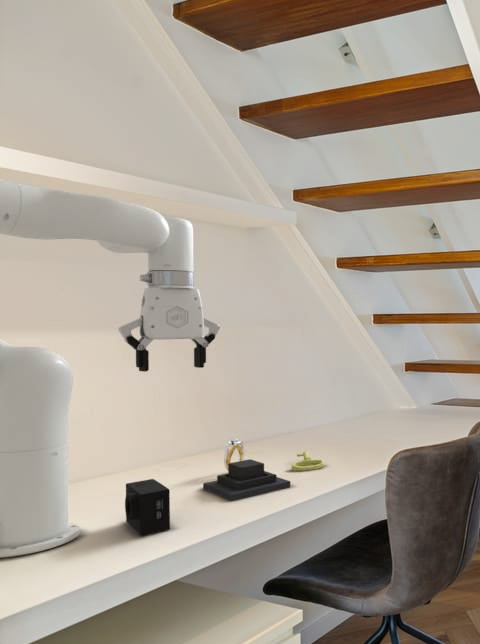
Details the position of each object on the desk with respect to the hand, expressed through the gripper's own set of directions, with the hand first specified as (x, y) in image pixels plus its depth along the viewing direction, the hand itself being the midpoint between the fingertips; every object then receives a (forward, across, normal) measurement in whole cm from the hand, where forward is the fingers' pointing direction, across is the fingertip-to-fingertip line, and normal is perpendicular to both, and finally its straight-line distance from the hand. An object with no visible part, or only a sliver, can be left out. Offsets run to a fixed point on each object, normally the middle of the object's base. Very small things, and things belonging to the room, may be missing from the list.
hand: (172, 369), depth 115 cm
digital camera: (+26, -8, -10) cm, 29 cm away
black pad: (+25, +14, 0) cm, 29 cm away
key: (+26, +32, +8) cm, 42 cm away
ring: (+26, +18, +15) cm, 35 cm away
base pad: (+26, +14, 0) cm, 30 cm away
